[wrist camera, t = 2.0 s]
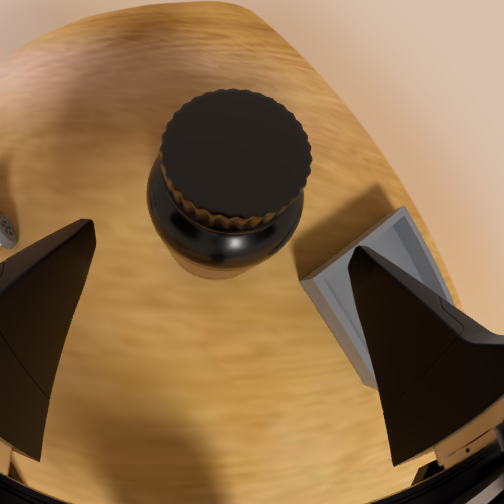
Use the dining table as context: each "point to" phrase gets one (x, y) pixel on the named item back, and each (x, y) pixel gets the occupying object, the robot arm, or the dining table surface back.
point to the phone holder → (7, 233)
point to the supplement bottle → (228, 182)
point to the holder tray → (340, 291)
